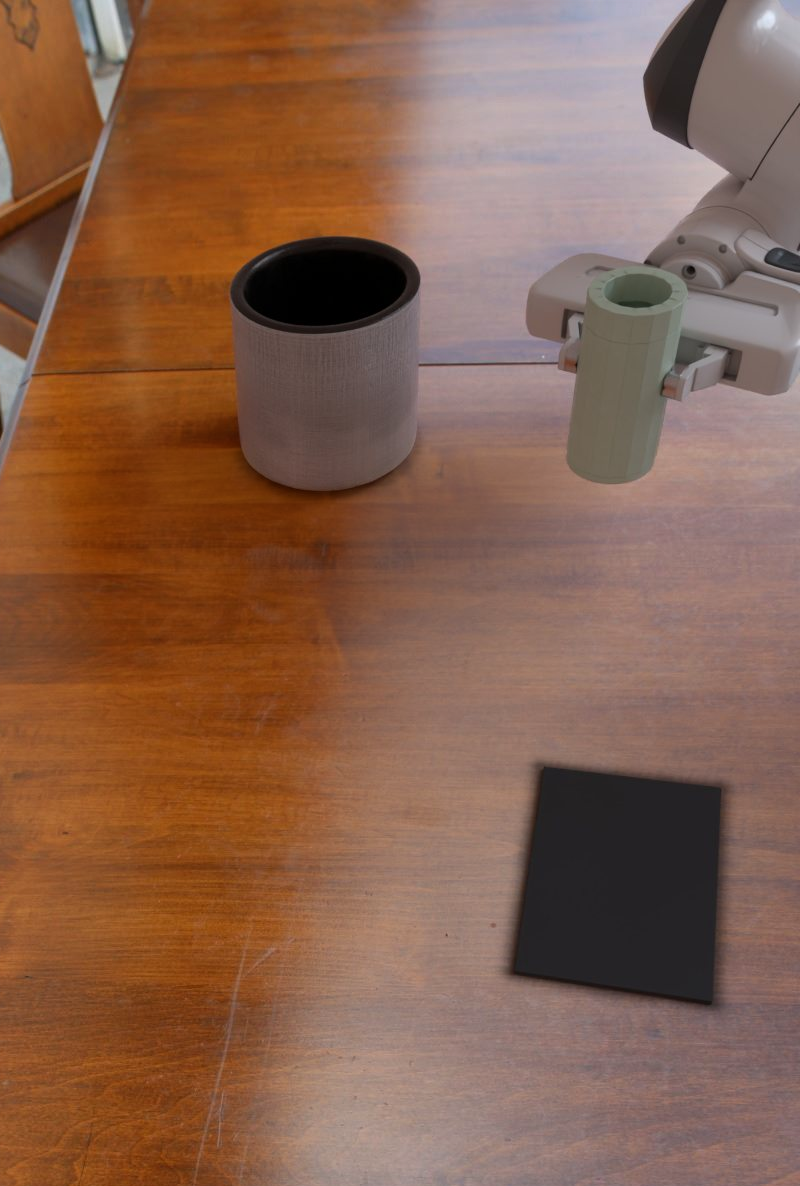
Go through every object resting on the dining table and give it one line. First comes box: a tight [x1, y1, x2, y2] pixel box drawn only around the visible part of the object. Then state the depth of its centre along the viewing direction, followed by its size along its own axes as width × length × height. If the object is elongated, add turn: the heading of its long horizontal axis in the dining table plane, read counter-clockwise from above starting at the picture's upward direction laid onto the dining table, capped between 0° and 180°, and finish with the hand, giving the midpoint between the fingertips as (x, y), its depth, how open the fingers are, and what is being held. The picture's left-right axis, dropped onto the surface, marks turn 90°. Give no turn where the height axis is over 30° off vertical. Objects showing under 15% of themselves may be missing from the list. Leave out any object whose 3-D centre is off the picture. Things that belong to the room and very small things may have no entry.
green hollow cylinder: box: [565, 266, 688, 485], centre depth 94 cm, size 6×6×13 cm
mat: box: [513, 766, 722, 1005], centre depth 88 cm, size 18×12×1 cm, turn 165°
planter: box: [229, 235, 422, 492], centre depth 115 cm, size 16×16×16 cm
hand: (619, 376), depth 93 cm, fingers closed on green hollow cylinder, 6 cm apart
